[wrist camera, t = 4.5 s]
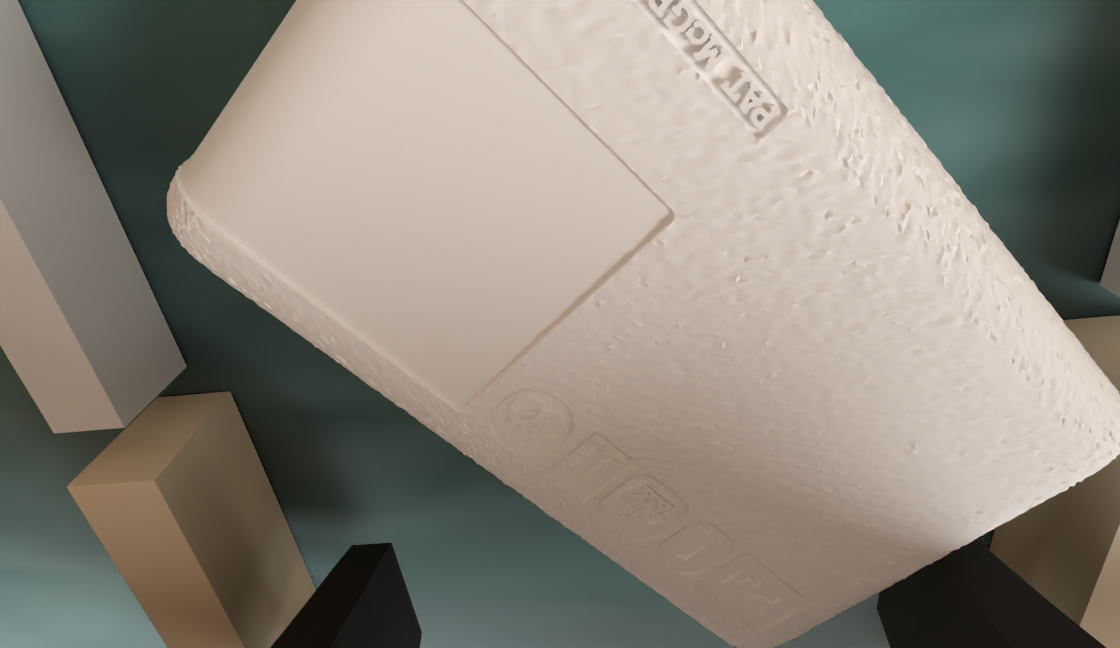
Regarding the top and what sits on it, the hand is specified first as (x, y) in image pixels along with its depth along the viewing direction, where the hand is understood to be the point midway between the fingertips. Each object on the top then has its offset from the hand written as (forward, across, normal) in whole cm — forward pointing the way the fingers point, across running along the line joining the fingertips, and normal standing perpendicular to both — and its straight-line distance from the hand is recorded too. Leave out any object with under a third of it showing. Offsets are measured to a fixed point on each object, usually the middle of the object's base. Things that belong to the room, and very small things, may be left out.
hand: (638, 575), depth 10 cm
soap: (+2, -1, -5) cm, 5 cm away
